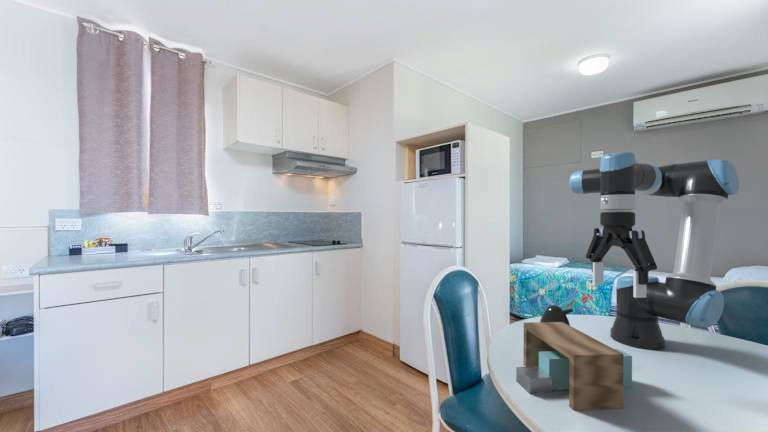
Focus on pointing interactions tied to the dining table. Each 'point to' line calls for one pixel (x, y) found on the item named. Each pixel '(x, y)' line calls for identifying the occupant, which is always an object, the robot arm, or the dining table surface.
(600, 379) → the walnut shelf
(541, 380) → the low grey plinth
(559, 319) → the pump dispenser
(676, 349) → the dining table surface
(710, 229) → the robot arm
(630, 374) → the teal batten
